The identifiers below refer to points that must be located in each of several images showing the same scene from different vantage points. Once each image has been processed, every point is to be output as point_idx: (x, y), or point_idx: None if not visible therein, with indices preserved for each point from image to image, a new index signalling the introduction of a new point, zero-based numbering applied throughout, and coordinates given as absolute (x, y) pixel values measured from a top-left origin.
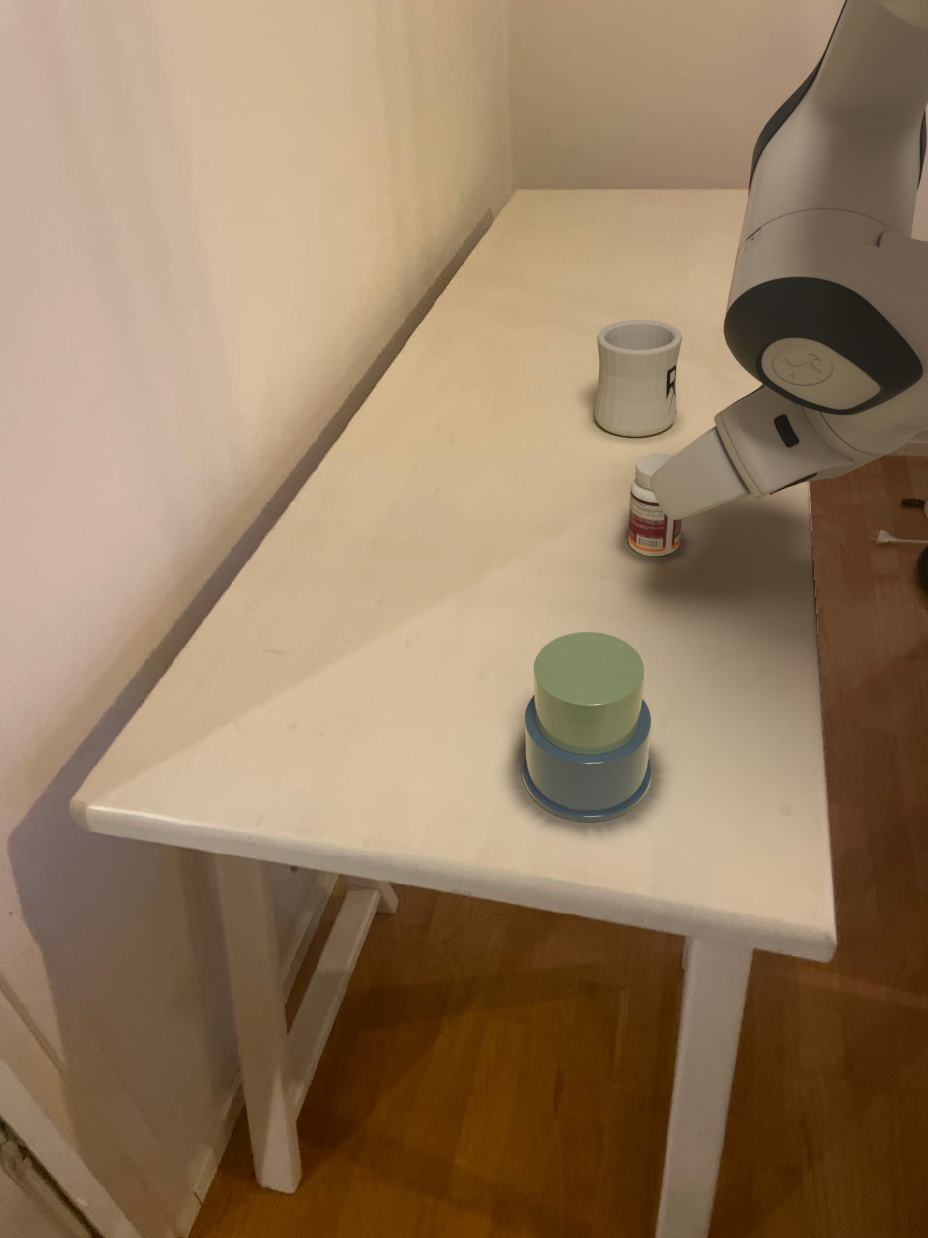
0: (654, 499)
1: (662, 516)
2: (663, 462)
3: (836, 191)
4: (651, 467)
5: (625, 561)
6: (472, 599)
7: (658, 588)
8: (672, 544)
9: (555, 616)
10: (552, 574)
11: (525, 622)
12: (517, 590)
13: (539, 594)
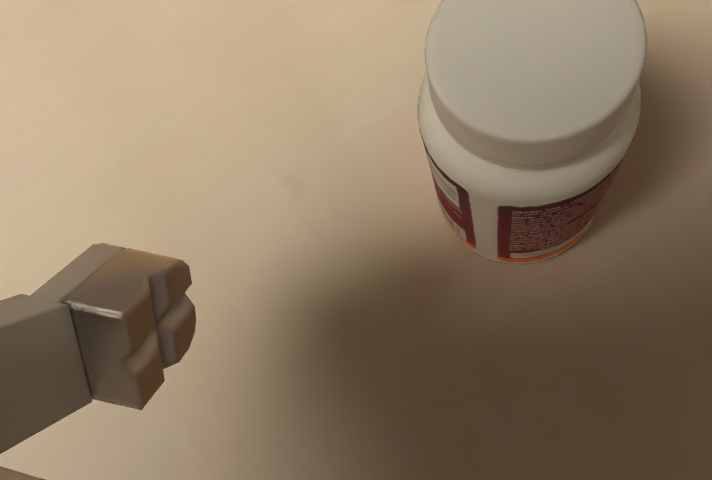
0: (431, 145)
1: (453, 199)
2: (559, 45)
3: None
4: (486, 33)
5: (389, 182)
6: (60, 14)
7: (335, 327)
8: (500, 256)
9: (98, 191)
10: (231, 79)
11: (47, 154)
12: (135, 62)
13: (149, 109)
